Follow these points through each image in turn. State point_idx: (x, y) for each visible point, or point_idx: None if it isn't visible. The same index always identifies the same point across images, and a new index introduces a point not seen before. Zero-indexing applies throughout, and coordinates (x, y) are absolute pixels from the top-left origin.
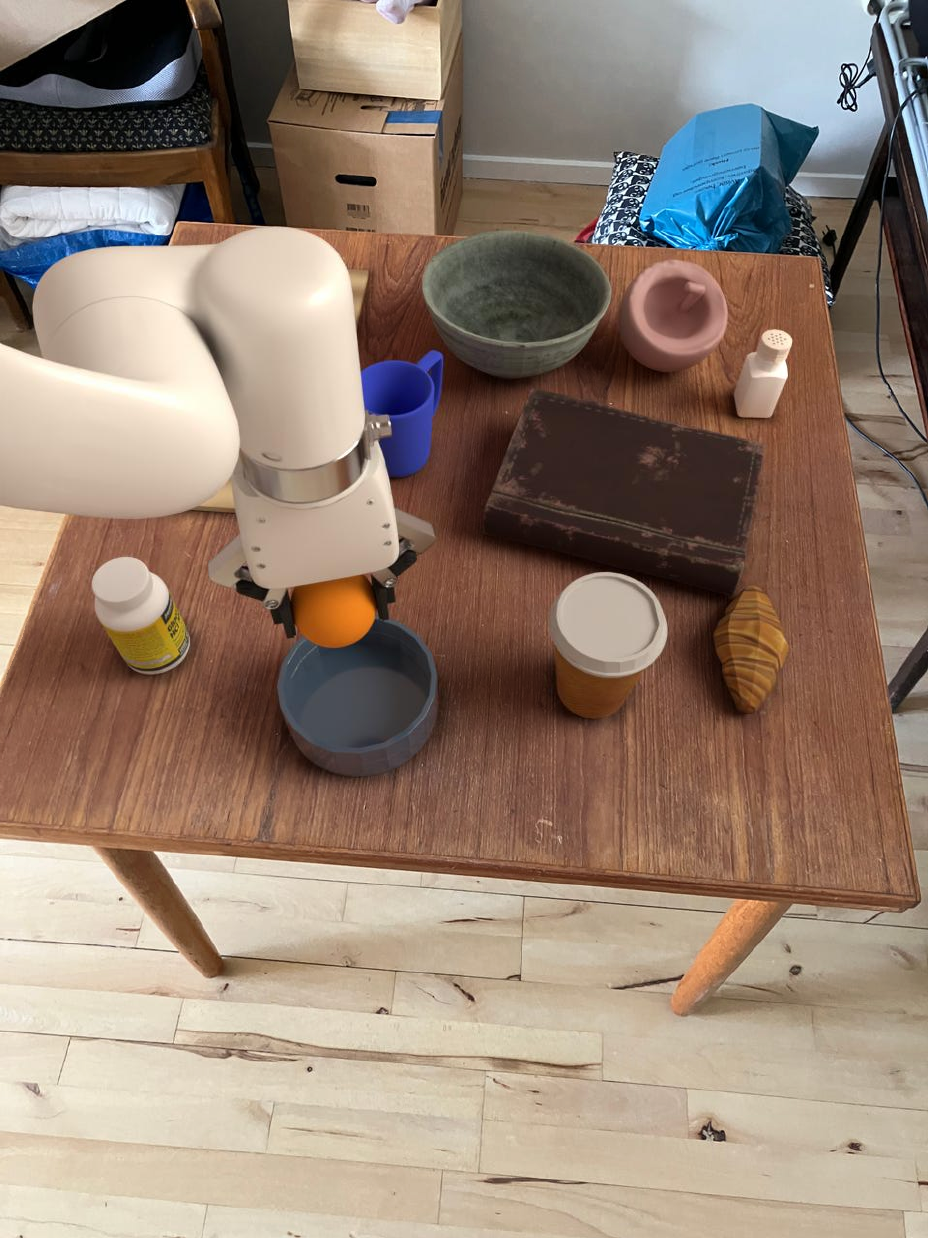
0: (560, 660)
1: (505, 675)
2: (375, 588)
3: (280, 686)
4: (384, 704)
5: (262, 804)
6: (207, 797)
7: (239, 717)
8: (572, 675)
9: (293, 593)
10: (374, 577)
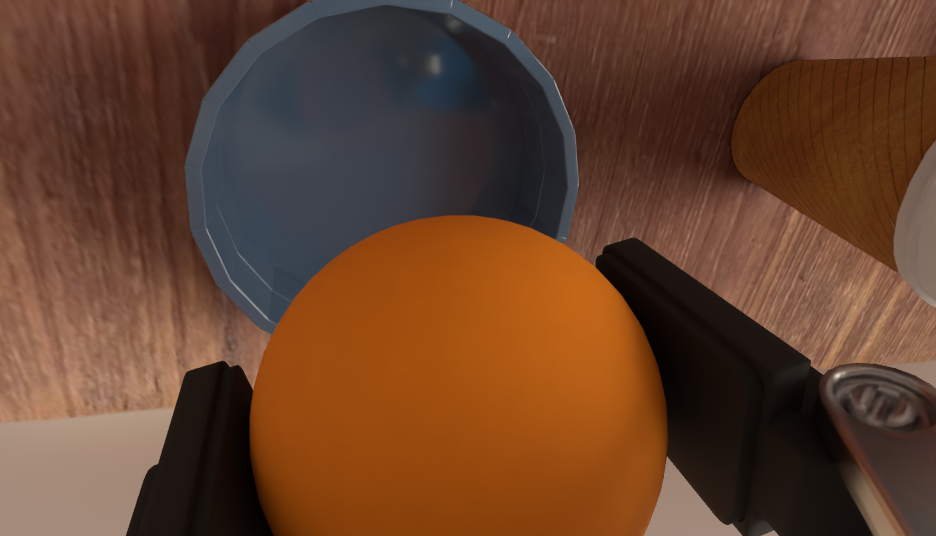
0: (853, 212)
1: (658, 94)
2: (733, 519)
3: (201, 232)
4: (431, 172)
5: (216, 359)
6: (97, 360)
7: (97, 196)
8: (852, 237)
9: (277, 527)
10: (743, 466)
